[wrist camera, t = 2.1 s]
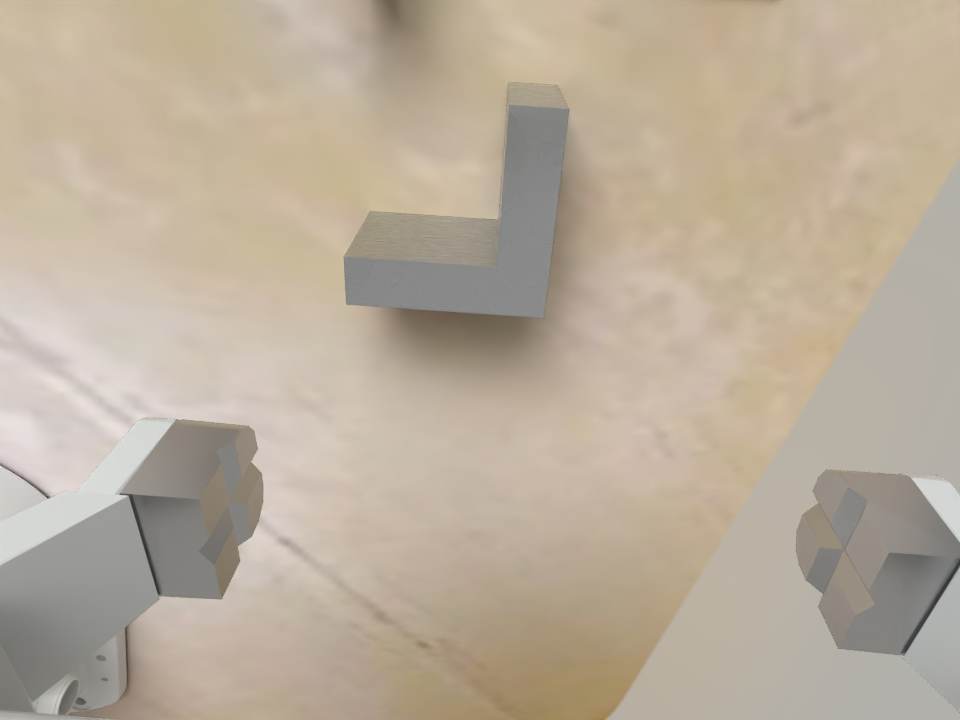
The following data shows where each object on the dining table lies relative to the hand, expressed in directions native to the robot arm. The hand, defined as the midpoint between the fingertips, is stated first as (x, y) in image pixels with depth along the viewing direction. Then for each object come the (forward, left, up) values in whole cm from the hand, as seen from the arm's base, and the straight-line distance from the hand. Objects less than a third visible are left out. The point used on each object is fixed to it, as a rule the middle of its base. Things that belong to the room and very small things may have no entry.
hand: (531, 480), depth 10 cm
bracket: (-1, +2, -18) cm, 18 cm away
